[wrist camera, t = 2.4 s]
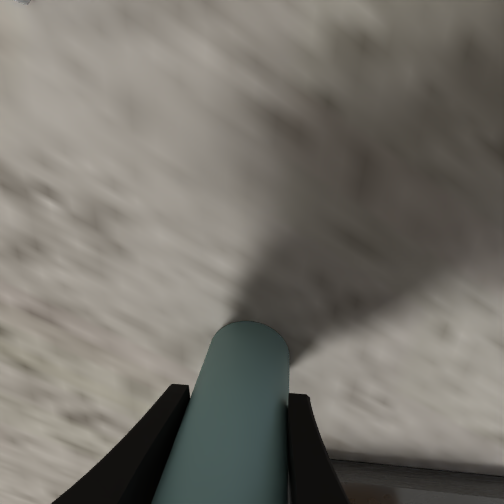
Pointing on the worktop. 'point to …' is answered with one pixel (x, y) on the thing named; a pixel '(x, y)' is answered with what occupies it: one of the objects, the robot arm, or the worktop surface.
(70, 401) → the worktop surface
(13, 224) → the worktop surface
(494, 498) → the wooden crate on slab
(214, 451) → the teal cylinder
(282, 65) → the worktop surface
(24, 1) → the medicine box
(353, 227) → the worktop surface
